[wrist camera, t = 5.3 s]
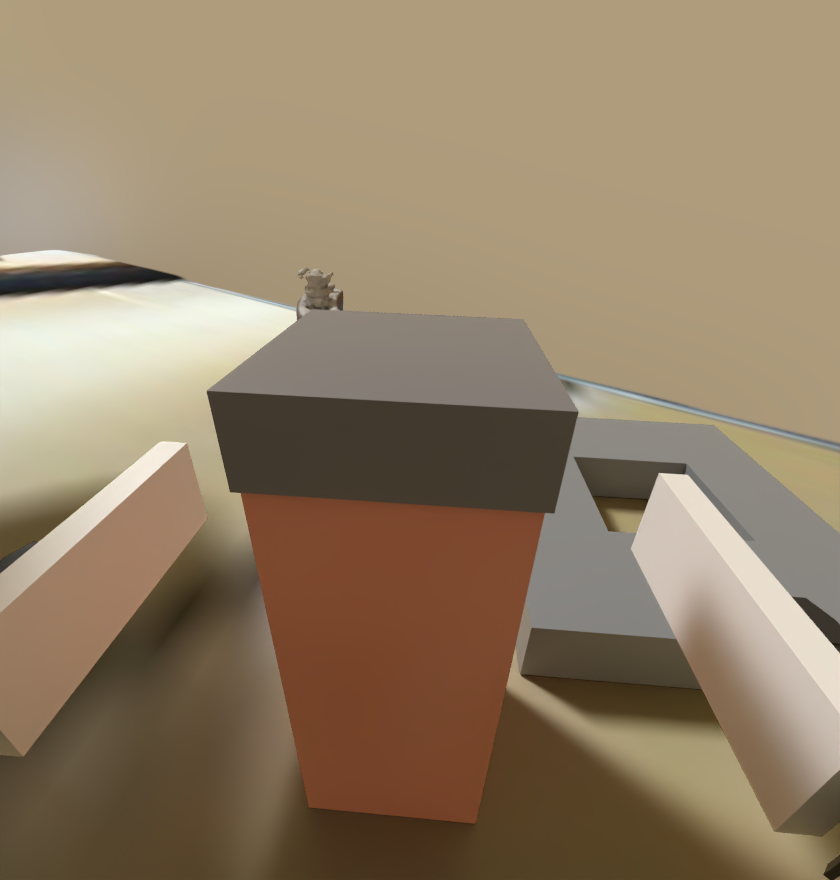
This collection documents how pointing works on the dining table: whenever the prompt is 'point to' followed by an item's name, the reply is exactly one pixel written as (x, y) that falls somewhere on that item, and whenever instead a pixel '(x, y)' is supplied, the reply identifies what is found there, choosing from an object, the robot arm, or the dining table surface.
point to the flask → (319, 293)
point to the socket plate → (616, 569)
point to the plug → (395, 539)
